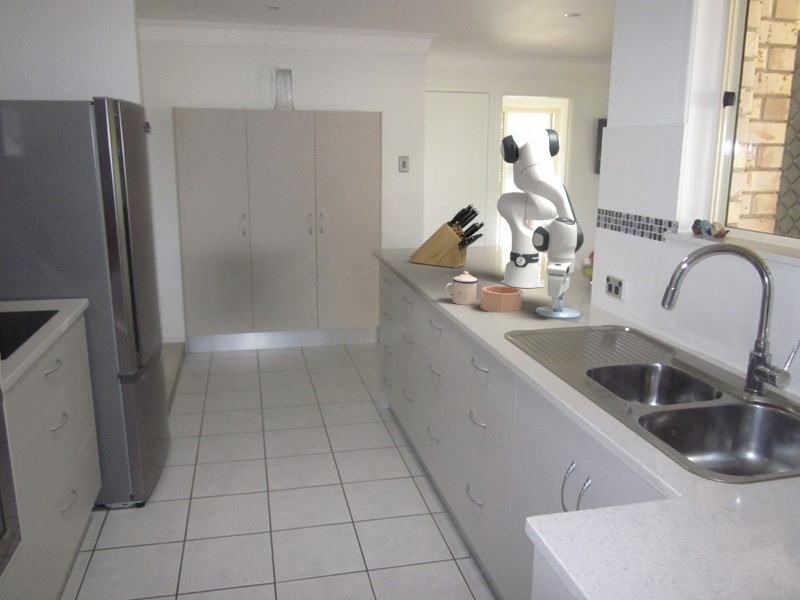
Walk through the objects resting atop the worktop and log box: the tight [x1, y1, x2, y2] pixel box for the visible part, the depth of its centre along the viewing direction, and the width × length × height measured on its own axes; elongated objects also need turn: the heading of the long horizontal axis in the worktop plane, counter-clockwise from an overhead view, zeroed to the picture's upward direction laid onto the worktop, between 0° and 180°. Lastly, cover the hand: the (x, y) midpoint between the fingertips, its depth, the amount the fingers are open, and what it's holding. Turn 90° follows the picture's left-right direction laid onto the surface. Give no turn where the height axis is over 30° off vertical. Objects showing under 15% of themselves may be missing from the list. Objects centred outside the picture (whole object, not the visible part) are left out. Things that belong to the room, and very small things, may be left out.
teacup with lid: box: [444, 270, 478, 306], centre depth 239 cm, size 12×9×12 cm
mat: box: [529, 309, 585, 323], centre depth 225 cm, size 16×16×1 cm
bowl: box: [479, 285, 524, 313], centre depth 231 cm, size 14×14×7 cm
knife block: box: [409, 203, 486, 269], centre depth 316 cm, size 11×35×31 cm, turn 61°
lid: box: [535, 299, 581, 320], centre depth 224 cm, size 15×15×5 cm
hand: (557, 305), depth 224 cm, fingers open, 8 cm apart
